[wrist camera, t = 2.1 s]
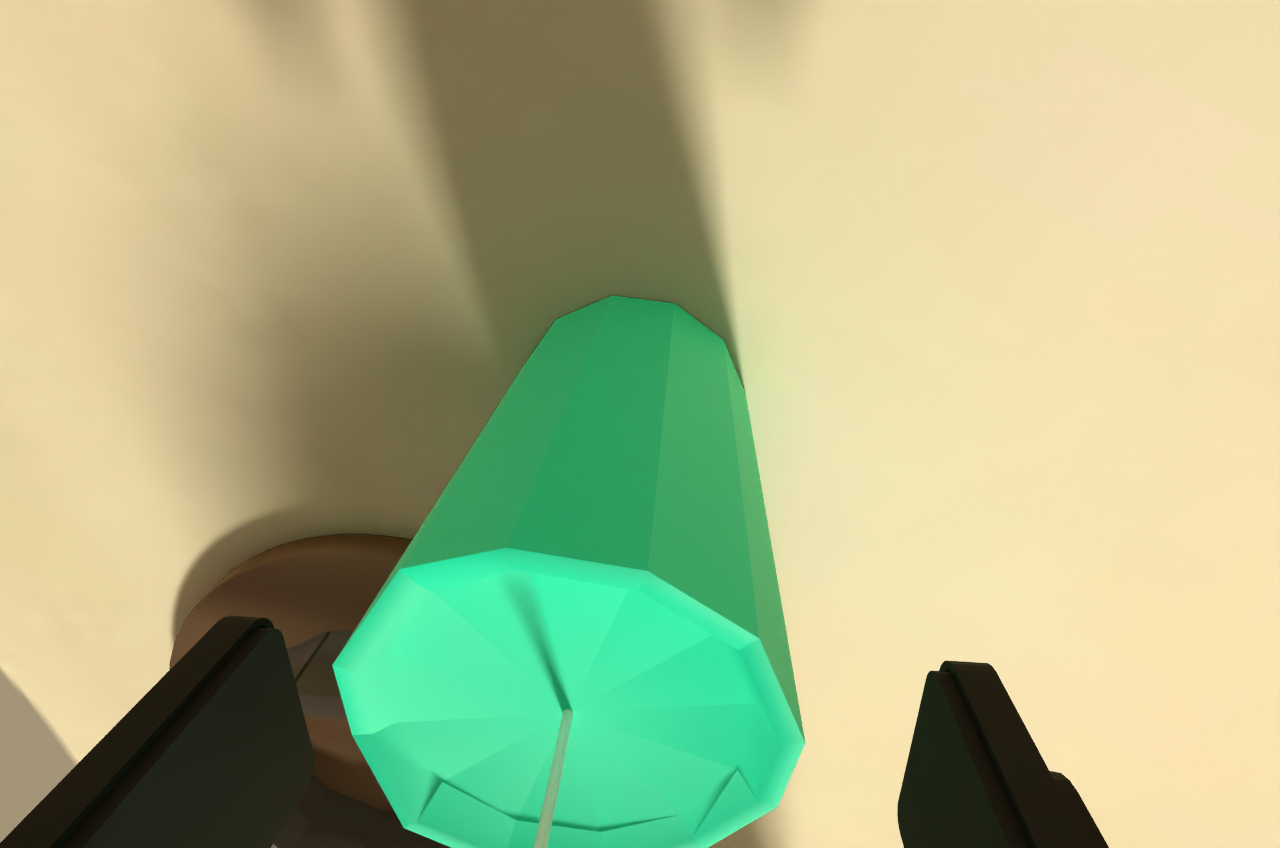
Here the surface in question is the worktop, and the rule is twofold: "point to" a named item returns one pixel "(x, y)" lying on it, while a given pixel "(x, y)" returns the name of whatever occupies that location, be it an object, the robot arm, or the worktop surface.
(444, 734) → the candle
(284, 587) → the candle holder
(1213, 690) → the worktop surface
